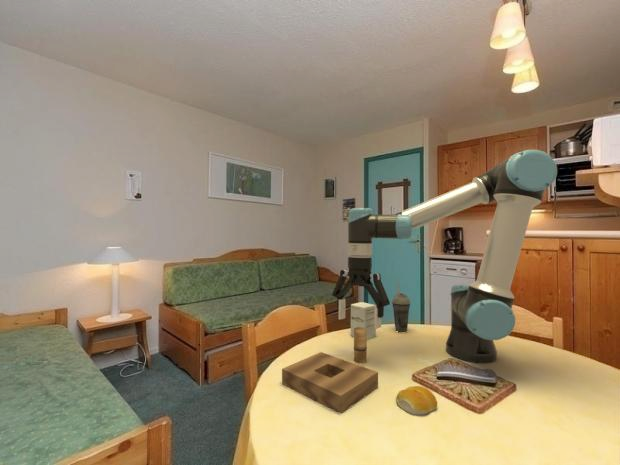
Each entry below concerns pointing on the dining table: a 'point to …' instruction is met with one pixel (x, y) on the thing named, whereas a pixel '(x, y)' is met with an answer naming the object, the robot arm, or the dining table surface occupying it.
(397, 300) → the beverage cup
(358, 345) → the dowel
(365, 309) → the supplement box
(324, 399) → the board
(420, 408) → the bread roll
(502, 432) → the dining table surface
